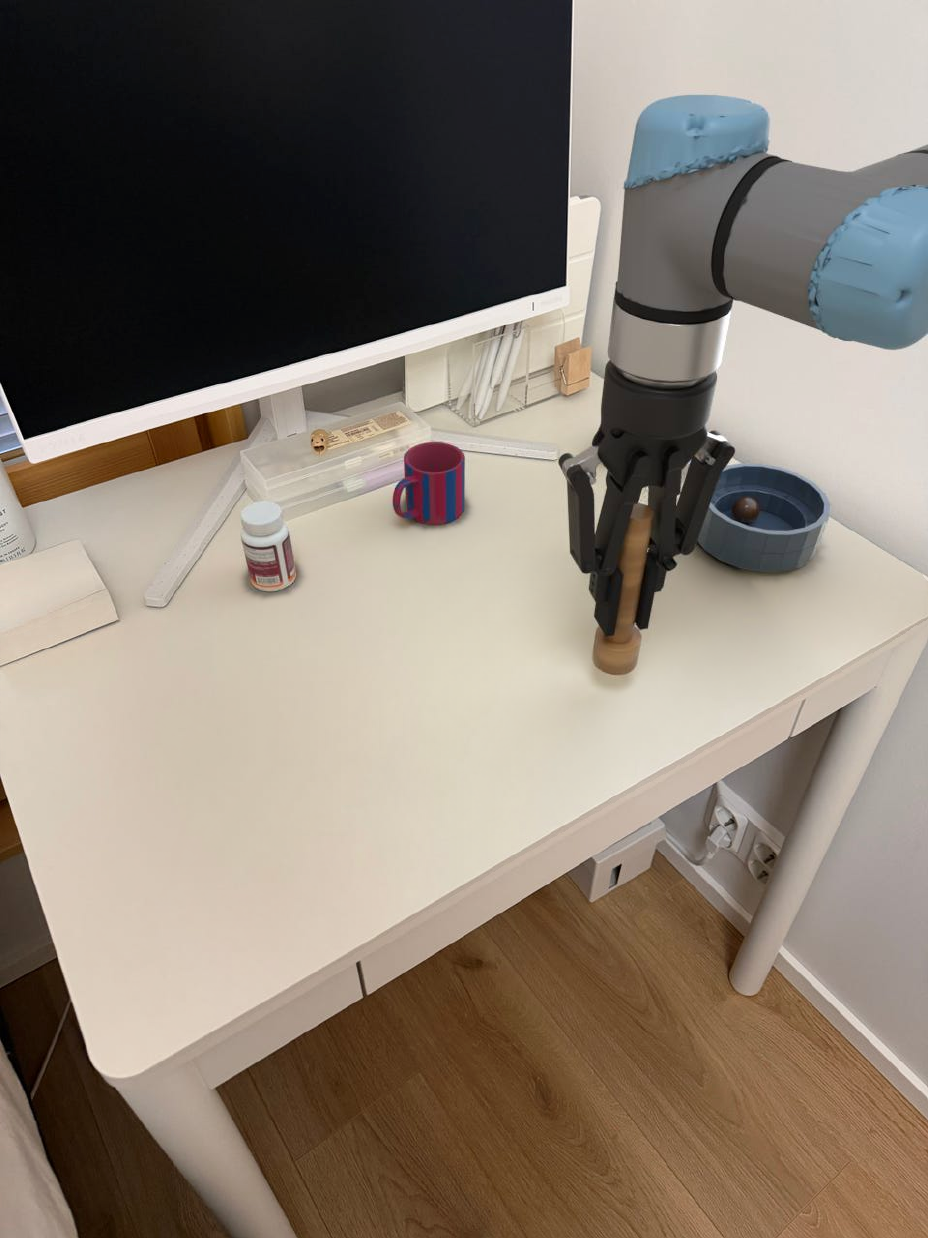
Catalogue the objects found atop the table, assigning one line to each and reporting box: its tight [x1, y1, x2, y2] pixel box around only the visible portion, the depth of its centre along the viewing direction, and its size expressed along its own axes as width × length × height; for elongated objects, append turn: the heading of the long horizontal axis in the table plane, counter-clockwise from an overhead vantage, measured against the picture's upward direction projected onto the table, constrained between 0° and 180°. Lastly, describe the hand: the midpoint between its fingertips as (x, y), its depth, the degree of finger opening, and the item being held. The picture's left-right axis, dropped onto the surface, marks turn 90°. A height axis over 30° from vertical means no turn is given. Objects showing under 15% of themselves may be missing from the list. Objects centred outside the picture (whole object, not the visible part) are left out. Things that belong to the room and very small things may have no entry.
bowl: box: [697, 462, 832, 573], centre depth 93 cm, size 13×13×6 cm
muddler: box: [591, 502, 654, 676], centre depth 71 cm, size 4×4×16 cm
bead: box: [732, 496, 760, 524], centre depth 95 cm, size 3×3×3 cm
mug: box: [392, 441, 466, 526], centre depth 96 cm, size 7×10×7 cm
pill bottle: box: [239, 500, 297, 592], centre depth 87 cm, size 5×5×8 cm
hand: (620, 621), depth 74 cm, fingers closed on muddler, 2 cm apart
